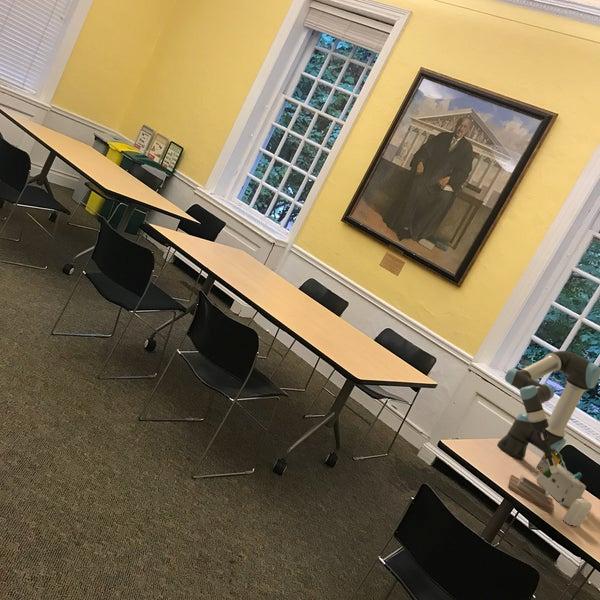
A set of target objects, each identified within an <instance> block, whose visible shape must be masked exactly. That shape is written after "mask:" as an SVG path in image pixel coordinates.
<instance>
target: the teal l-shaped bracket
mask: <svg viewBox="0 0 600 600" xmlns="http://www.w3.org/2000/svg"><path fill="white" fill-rule="evenodd" d="M563 462H564V464H565V465H566V462H565V461H563ZM563 462H562V461H560V462H559V464H560V465H561V466H562V467H563V468H565V467H564V464H563ZM567 471H568V472H569V473H571V474H572V475H573V476H574V477H575V478H577V479H578V480H579V481H580V479H581V478H582V476H583V475H582V473H581V472H580V471H578V472H577V473H575V474H573V473H572V472H571V471H569V470H568V469H567Z"/></svg>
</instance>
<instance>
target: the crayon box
mask: <svg viewBox="0 0 600 600" xmlns="http://www.w3.org/2000/svg"><path fill="white" fill-rule="evenodd" d="M555 452H556V453H557V454H555ZM559 453H560V452H557V451H556V450H555V449H554V448H553V449H552V451H551V455H552V457H553V459H554V462H555V465H556V467H557V465H558V463H559V464H560V462H561V461H562V460H561V458H562V459H563V457H564V456H563V455H562V454H561V453H560V454H559ZM536 469H537V470H538V472H539V473H542V474H543V475H544V476H546V477H548V478H550V477H551V475H552V473H551V471H550V468H549V465H548V462H547V459H545V453H543V455H542V457H541V459H540V460H539V462H538V463H537V465H536Z"/></svg>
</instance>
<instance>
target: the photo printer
mask: <svg viewBox="0 0 600 600" xmlns="http://www.w3.org/2000/svg"><path fill="white" fill-rule="evenodd" d="M592 507H593V506H592V503H591V502H590V501H589V500H587V499H586V498H580V499H577V500H575V501H574V502H573V503H572V505H571V506H570V507H568V509H567V511H566V513H565V515H564V516H563V518H562V521H563V520H564V521H563V522H564V523H565V522H566V523H567V524H566V523H565V524H566V525H568V524H569V525H568V526H571V525H573V527H581V526H582V524H583V522H584V521H585V520H586V518H587V516H588V515H589V513H590V512H591V510H592Z"/></svg>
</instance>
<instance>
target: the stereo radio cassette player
mask: <svg viewBox="0 0 600 600" xmlns="http://www.w3.org/2000/svg"><path fill="white" fill-rule="evenodd" d="M557 450H558V449H557ZM558 453H559V454H561V453H560V451H558ZM560 461H561V462H563V464H564V462H565V461H564V460H563V457H562V458H561V460H560ZM567 470H568V469H567V467H566V463H565V464H564V468H563V467H562V466H561V465H560V462H559V463H558V465H557V472H556V473H552V475H551V477H550V478H548V477H546V476H544V475H543V474H542V473H541V472H539V474H538V475H537V477H536V483H537V484H538V485H539V486H540V487H542V488H543V489H545V490H547V491H548V492H549V495H551V496H552V498H553V499H555V500H556V502H558V503H559V505H560V506H564V507H567V508H570V506H571V505H572V503H573V502H574V501H575V500H577V499H582V498H581V497H582V495H583V494H584V493H585V491H586V489H587V485H585V484H584V483H582V482H581V481H580V479H579V480H578V479H577V478H575V477H574V476H573V475H574V474H573V473H572V472H571V473H572V474H573V475H572V474H571V473H569V472H570V471H569V470H568V471H569V472H568V471H567Z"/></svg>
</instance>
